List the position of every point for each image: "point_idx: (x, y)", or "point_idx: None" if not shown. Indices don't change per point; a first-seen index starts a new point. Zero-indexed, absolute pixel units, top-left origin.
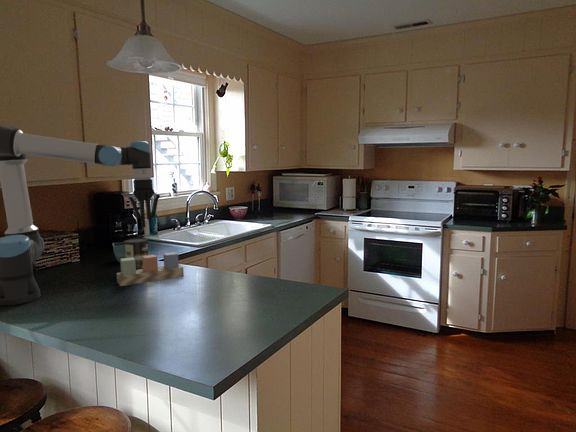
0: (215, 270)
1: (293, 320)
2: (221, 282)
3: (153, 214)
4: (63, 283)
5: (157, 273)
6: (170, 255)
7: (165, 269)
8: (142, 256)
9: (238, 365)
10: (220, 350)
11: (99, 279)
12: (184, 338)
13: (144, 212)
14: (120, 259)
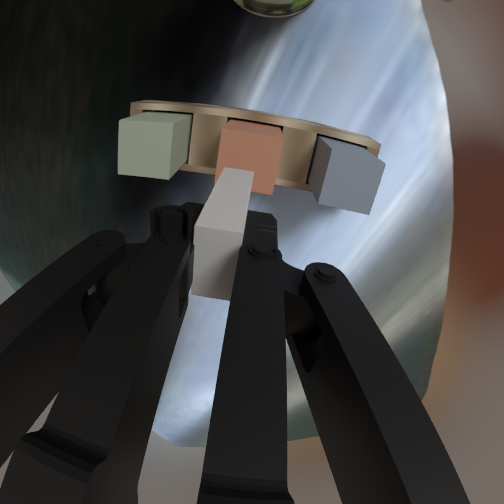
0: (448, 207)
1: (295, 436)
2: (370, 310)
3: (300, 347)
4: (36, 30)
5: None
6: (335, 206)
7: (299, 182)
8: (221, 133)
9: (200, 446)
10: (199, 436)
11: (113, 29)
12: (180, 416)
13: (169, 362)
14: (119, 127)
